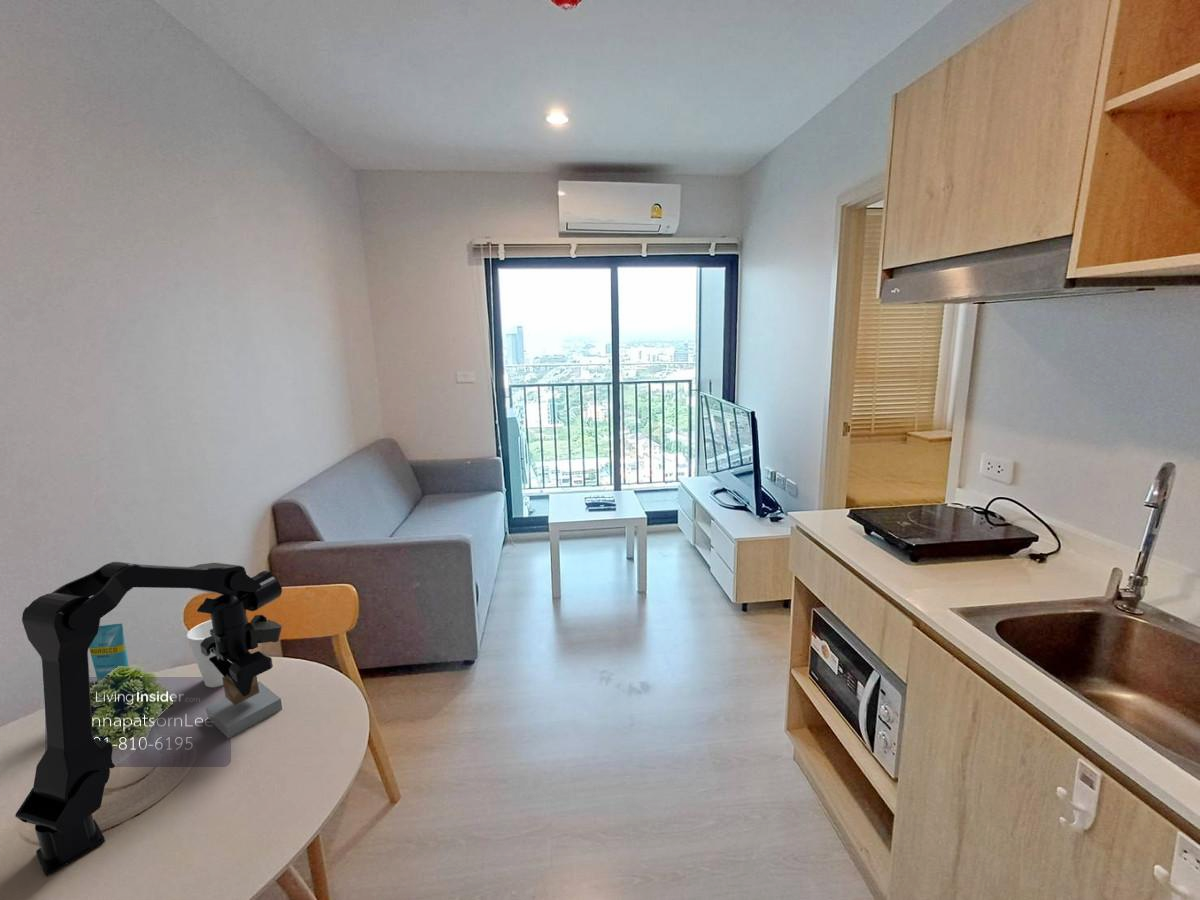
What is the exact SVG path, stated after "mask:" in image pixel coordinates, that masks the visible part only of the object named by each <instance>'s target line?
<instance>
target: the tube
mask: <svg viewBox="0 0 1200 900" xmlns="http://www.w3.org/2000/svg"><path fill="white" fill-rule="evenodd" d="M88 651H89V653H90V658H91V661H92V664H93V668H94V672H95V676H96V680H97V682H98V681H100V680H102V679H103V678H104V677H105V676H106V675H107V674H108V673H110V672H111V671H112V670H114V669H115V668H117V667H118V666H129V667H130V664H129V659H128V653H127V648H126V642H125V633H124V626H123V623H122V622H120V623H110V624H103V625H99V631H98V633H97V635H96V637H95V638H94V640H93V642H92V643H91V645H90V646H89V649H88Z"/></svg>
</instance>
